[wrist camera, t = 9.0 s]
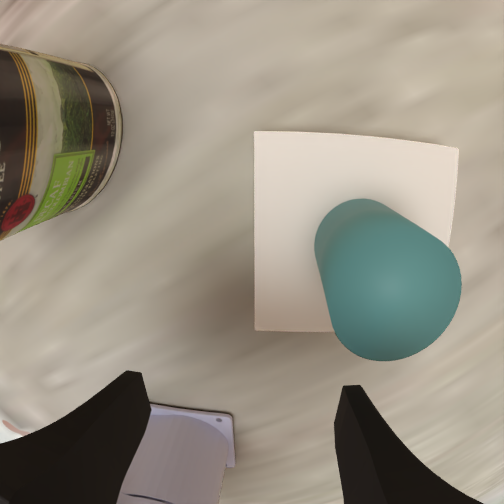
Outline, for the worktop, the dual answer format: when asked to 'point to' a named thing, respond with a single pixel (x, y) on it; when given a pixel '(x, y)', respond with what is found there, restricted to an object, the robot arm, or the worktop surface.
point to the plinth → (324, 200)
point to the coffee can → (52, 136)
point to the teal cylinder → (384, 280)
